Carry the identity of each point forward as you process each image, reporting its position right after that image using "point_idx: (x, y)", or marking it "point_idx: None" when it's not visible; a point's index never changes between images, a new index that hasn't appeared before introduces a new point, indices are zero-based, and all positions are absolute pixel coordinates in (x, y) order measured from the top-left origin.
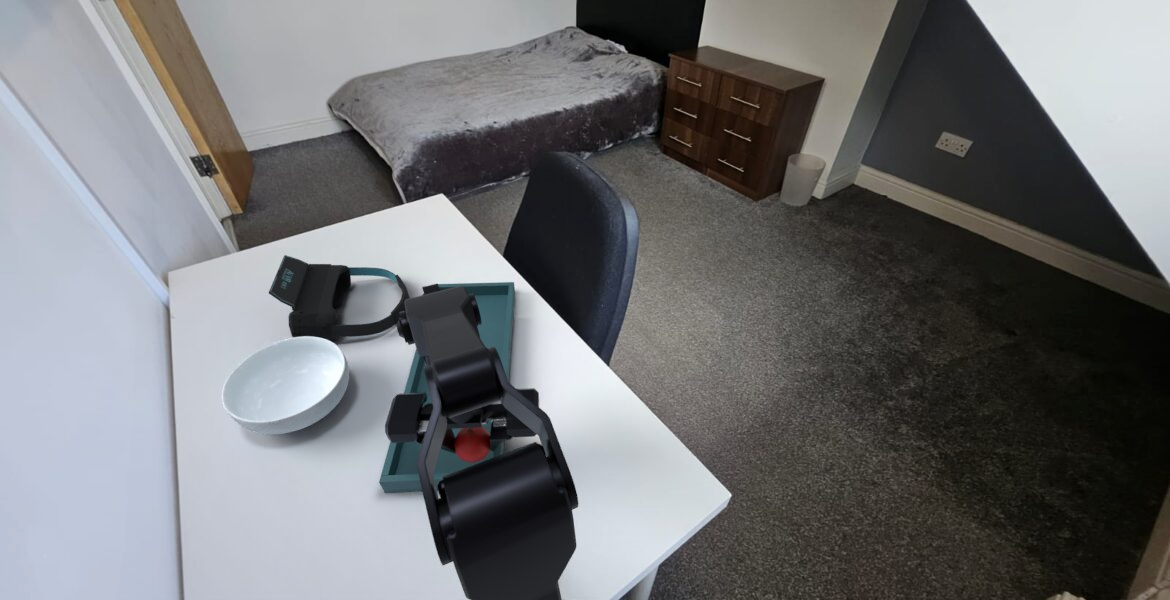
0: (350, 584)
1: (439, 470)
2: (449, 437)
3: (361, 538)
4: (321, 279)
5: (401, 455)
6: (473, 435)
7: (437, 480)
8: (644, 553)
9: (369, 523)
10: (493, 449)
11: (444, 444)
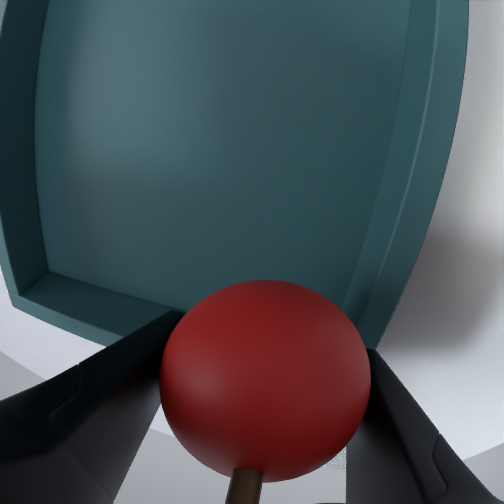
0: None
1: (147, 268)
2: (120, 441)
3: (52, 344)
4: None
5: (39, 189)
6: (266, 478)
7: None
8: (493, 443)
9: (50, 326)
10: None
11: (112, 500)
